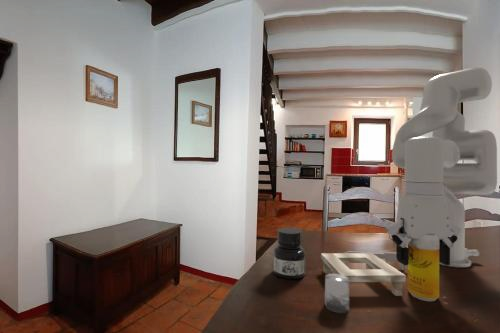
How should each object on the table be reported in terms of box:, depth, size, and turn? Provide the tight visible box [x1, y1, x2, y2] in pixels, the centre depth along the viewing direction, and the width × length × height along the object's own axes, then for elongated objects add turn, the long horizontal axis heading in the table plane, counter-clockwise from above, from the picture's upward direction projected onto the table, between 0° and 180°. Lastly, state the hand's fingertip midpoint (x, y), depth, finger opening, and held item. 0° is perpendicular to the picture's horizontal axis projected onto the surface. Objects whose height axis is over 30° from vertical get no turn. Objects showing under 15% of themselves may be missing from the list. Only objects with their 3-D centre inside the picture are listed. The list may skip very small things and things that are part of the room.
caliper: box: [344, 250, 408, 271], centre depth 79 cm, size 20×1×6 cm, turn 43°
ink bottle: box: [273, 227, 306, 280], centre depth 70 cm, size 10×9×12 cm
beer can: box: [407, 234, 440, 302], centre depth 58 cm, size 6×6×15 cm
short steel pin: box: [324, 273, 351, 314], centre depth 54 cm, size 5×5×6 cm
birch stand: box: [320, 252, 407, 297], centre depth 65 cm, size 15×15×5 cm
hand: (422, 263), depth 58 cm, fingers open, 9 cm apart
